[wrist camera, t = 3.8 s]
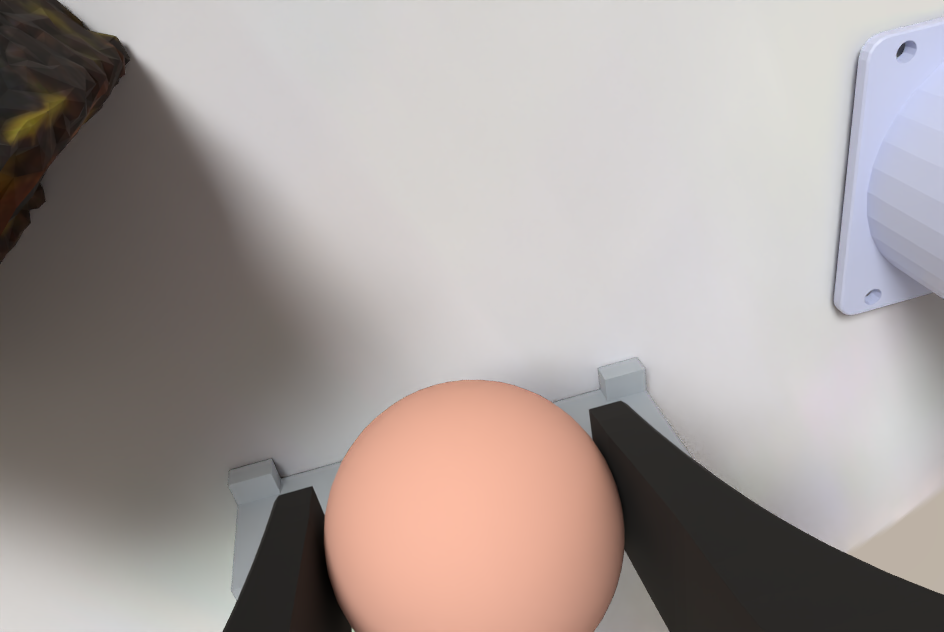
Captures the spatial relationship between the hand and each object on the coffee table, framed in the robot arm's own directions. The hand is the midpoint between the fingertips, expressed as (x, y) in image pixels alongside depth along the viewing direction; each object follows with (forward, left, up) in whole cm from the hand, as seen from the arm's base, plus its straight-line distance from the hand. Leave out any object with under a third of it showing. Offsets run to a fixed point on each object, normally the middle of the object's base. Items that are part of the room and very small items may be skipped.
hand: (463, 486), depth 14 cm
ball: (0, 0, +1) cm, 1 cm away
